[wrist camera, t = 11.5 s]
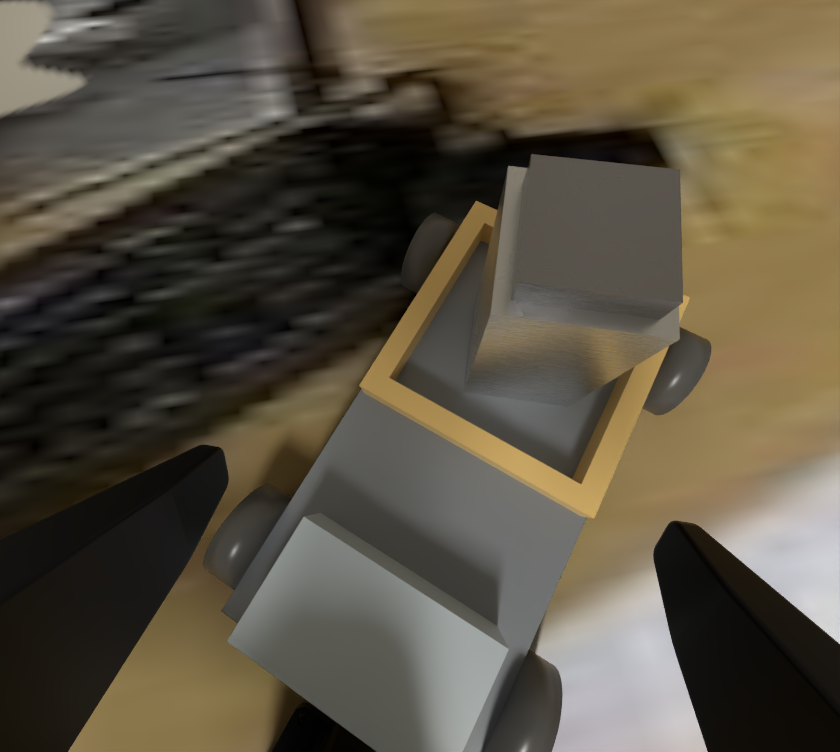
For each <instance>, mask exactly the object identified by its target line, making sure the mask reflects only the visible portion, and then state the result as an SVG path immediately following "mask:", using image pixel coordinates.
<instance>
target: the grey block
mask: <svg viewBox="0 0 840 752" xmlns="http://www.w3.org/2000/svg"><path fill="white" fill-rule="evenodd" d="M682 303H683V279H682V237H681V196H680V170H678V169H668V168H659V167H649V166H640V165H630V164H620V163H611V162H601V161H592V160H582V159H573V158H563V157H554V156H544V155H535V154H531V157H530V160H529V164H528V167H527V168H522V167H513V166H508V169H507V173H506V177H505V182H504V186H503V190H502V194H501V198H500V202H499V207H498V211H497V215H496V219H495V223H494V227H493V232H492V236H491V240H490V244H489V248H488V252H487V257H486V261H485V265H484V269H483V273H482V277H481V282H480V286H479V290H478V294H477V298H476V304H475V311H474V319H473V327H472V334H471V342H470V349H469V357H468V364H467V372H466V379H465V387H464V392H467V393H474V394H481V395H487V396H494V397H501V398H508V399H515V400H521V401H528V402H535V403H542V404H548V405H555V406H562V407H568V406H570V405H571V404H573V403H575V402H576V401H578V400H580V399H581V398H583V397H585V396H586V395H588V394H590V393H591V392H593V391H595V390H596V389H598V388H600V387H601V386H603V385H605V384H606V383H608V382H610V381H611V380H613V379H615V378H616V377H618V376H620V375H621V374H623V373H625V372H626V371H628V370H630V369H631V368H633V367H635V366H636V365H638V364H640V363H641V362H643V361H645V360H646V359H648V358H650V357H651V356H653V355H655V354H656V353H658V352H660V351H661V350H663V349H665V348H666V347H668V346H670V345H671V344H673V343H675V342H676V341H678V340H680V328H679V305H681V304H682Z"/></svg>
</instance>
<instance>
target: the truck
mask: <svg viewBox="0 0 840 752" xmlns="http://www.w3.org/2000/svg"><path fill="white" fill-rule="evenodd" d="M497 211H498V210H496V209H493V208H491V207H489V206H487V205H485V204H482V203H480V202H478V201H476V202H475V203H474V205H473V207H472V208H471V210H470V211H469V213H468V214H467V216H466V218H465V219H464V221H463V222H462V224H458V223H456V222H454V221H452V220H450V219H448V218H446V217H443V216H441V215H439V214H437V213H432V214H430V215H429V216H428V217H427V218H426V219H425V220H424V221H423V223H422V224H421V225H420V227H419V228H418V230H417V232H416V233H415V235H414V237H413V239H412V241H411V243H410V245H409V248H408V250H407V253H406V256H405V259H404V262H403V266H402V271H401V284H402V286H403V287H405V288H407V289H409V290H411V291H413V292H415V293H417V295H416V297H415V298H414V300H413V301H412V303H411V304H410V306H409V308H408V309H407V311H406V312H405V314H404V315H403V317H402V319H401V320H400V322H399V323H398V325H397V327H396V328H395V330H394V331H393V333H392V334H391V336H390V338H389V339H388V341H387V342H386V344H385V345H384V347H383V349H382V350H381V352H380V353H379V355H378V357H377V358H376V360H375V361H374V363H373V364H372V366H371V368H370V369H369V371H368V372H367V374H366V375H365V377H364V379H363V380H362V382H361V383H360V385H359V386H360V388H361V390H360V392H359V393H358V395H357V397H356V398H355V400H354V401H353V403H352V404H351V406H350V408H349V409H348V411H347V412H346V414H345V416H344V417H343V419H342V420H341V422H340V424H339V425H338V427H337V428H336V430H335V431H334V433H333V435H332V436H331V438H330V439H329V441H328V443H327V444H326V446H325V447H324V449H323V450H322V452H321V454H320V455H319V457H318V458H317V460H316V462H315V463H314V465H313V466H312V468H311V469H310V471H309V473H308V474H307V476H306V477H305V479H304V481H303V482H302V484H301V485H300V487H299V489H298V490H297V492H296V493H295V495H294V496H293V498H292V497H290V496H289V495H287V494H285V493H284V492H282V491H281V490H279V489H278V488H276V487H275V486H273V485H271V484H266V485H263V486H261V487H259V488H257V489H256V490H254V491H253V492H252V493H250V494H249V495H248V496H247V497H246V498H245V499H244V500H243V501H242V502H241V503H240V504H239V505H238V506H237V507H236V508H235V509H234V510H233V511H232V512H231V514H230V515H229V516H228V517H227V518H226V520H225V521H224V522H223V524H222V525H221V527H220V528H219V529H218V531H217V533H216V534H215V536H214V537H213V539H212V541H211V543H210V545H209V547H208V549H207V551H206V554H205V557H204V562H203V566H204V568H205V570H207V571H208V572H210V573H211V574H212V575H214V576H215V577H217V578H218V579H220V580H221V581H222V582H224V583H225V584H227V585H228V586H229V587H231V588H232V589H234V592H233V593H232V595H231V596H230V598H229V600H228V601H227V603H226V604H225V606H224V607H223V609H222V612H223V613H224V614H226V615H227V616H229V617H230V618H231V619H233V620H234V621H235V622H237V623H238V624H237V626H236V627H235V629H234V631H233V632H232V634H231V636H230V637H229V639H228V640H227V642H228V643H230V644H231V645H232V646H234V647H235V648H236V649H238V650H239V651H241V652H242V653H243V654H245V655H246V656H247V657H249V658H250V659H251V660H253V661H254V662H255V663H257V664H258V665H260V666H261V667H262V668H264V669H265V670H266V671H268V672H269V673H270V674H272V675H273V676H274V677H276V678H277V679H279V680H280V681H281V682H283V683H284V684H285V685H287V686H288V687H289V688H291V689H292V690H294V691H295V692H296V693H298V694H299V695H300V696H302V697H303V698H304V699H306V700H307V701H308V702H310V703H311V704H313V705H314V706H315V707H317V708H318V709H319V710H321V711H322V712H323V713H325V714H326V715H327V716H329V717H330V718H332V719H333V720H334V721H336V722H337V723H338V724H340V725H341V726H342V727H344V728H345V729H347V730H348V731H349V732H351V733H352V734H353V735H355V736H356V737H357V738H359V739H360V740H361V741H363V742H364V743H366V744H367V745H368V746H370V747H371V748H372V749H374V750H375V751H376V752H552V749H553V746H554V743H555V739H556V736H557V732H558V727H559V722H560V716H561V708H562V684H561V678H560V675H559V672H558V670H557V668H556V667H555V666H554V665H552V664H551V663H549V662H547V661H546V660H544V659H543V658H541V657H540V656H538V655H537V654H535V653H533V652H532V651H530V650H529V648H530V646H531V643H532V641H533V639H534V637H535V634H536V632H537V630H538V627H539V625H540V623H541V621H542V618H543V616H544V614H545V612H546V609H547V607H548V605H549V602H550V600H551V598H552V596H553V593H554V591H555V589H556V586H557V584H558V582H559V580H560V577H561V575H562V573H563V571H564V568H565V566H566V564H567V561H568V559H569V557H570V555H571V552H572V550H573V548H574V546H575V543H576V541H577V539H578V536H579V534H580V532H581V530H582V527H583V525H584V523H585V520H586V518H592V519H594V518H595V516H596V513H597V511H598V509H599V506H600V504H601V502H602V500H603V497H604V495H605V493H606V490H607V488H608V486H609V483H610V481H611V479H612V477H613V474H614V472H615V470H616V467H617V465H618V463H619V460H620V458H621V456H622V453H623V451H624V449H625V447H626V444H627V442H628V440H629V437H630V435H631V433H632V430H633V428H634V426H635V424H636V421H637V419H638V417H639V414H640V412H641V410H642V408H643V409H645V410H647V411H649V412H651V413H653V414H655V415H662V414H665V413H667V412H669V411H671V410H672V409H674V408H675V407H676V406H678V405H679V404H680V403H681V402H682V401H683V400H684V399H685V398H686V397H687V396H688V395H689V393H690V392H691V391H692V390H693V388H694V387H695V386H696V384H697V383H698V381H699V380H700V378H701V376H702V375H703V373H704V371H705V369H706V367H707V364H708V362H709V359H710V355H711V344H710V342H709V341H708V340H707V339H705V338H702V337H700V336H698V335H696V334H694V333H692V332H690V331H687V330H685V329H683V328H681V327H679V328H680V340H678V341H676V342H675V343H673V344H671V345H670V346H668V347H666V348H665V349H663V350H661V351H660V352H658V353H656V354H655V355H653V356H651V357H650V358H648V359H646V360H645V361H643V362H641V363H640V364H638V365H636V366H635V367H633V368H631V369H630V370H628V371H626V372H625V373H623V374H621V375H620V376H618V377H616V378H615V379H613V380H611V381H610V382H608V383H606V384H605V385H603V386H601V387H600V388H598V389H596V390H595V391H593V392H591V393H590V394H588V395H586V396H585V397H583V398H581V399H580V400H578V401H576V402H575V403H573V404H571V405H570V406H568V407H562V406H555V405H548V404H542V403H535V402H528V401H521V400H515V399H508V398H501V397H494V396H487V395H481V394H474V393H467V392H464V387H465V379H466V372H467V364H468V357H469V349H470V342H471V334H472V327H473V319H474V311H475V304H476V298H477V294H478V290H479V286H480V282H481V277H482V273H483V269H484V265H485V261H486V257H487V252H488V248H489V244H490V240H491V236H492V232H493V227H494V223H495V219H496V215H497ZM689 299H690V297H688V296H685V295H683V303H682V304H681V305H679V322H680V320H681V318H682V315H683V313H684V311H685V308H686V306H687V304H688V302H689Z"/></svg>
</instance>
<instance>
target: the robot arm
mask: <svg viewBox="0 0 840 752" xmlns="http://www.w3.org/2000/svg"><path fill="white" fill-rule="evenodd" d="M228 479H229V477H228V471H227V466H226V461H225V456H224V452H223V450H222V449H221V448H219V447H215V446H209V445H199V446H197V447H195V448H193V449H190V450H188V451H186V452H184V453H182V454H180V455H178V456H176V457H174V458H171V459H169V460H167V461H165V462H163V463H161V464H159V465H157V466H155V467H153V468H150V469H148V470H146V471H144V472H142V473H140V474H138V475H136V476H134V477H131V478H129V479H127V480H125V481H123V482H121V483H119V484H117V485H115V486H113V487H110V488H108V489H106V490H104V491H102V492H100V493H98V494H96V495H94V496H92V497H89V498H87V499H85V500H83V501H81V502H79V503H77V504H75V505H73V506H70V507H68V508H66V509H64V510H62V511H60V512H58V513H56V514H54V515H51V516H49V517H47V518H45V519H43V520H41V521H39V522H37V523H35V524H32V525H30V526H28V527H26V528H24V529H22V530H20V531H18V532H16V533H14V534H11V535H9V536H7V537H5V538H3V539H1V540H0V752H68V751H69V749H70V747H71V746H72V744H73V743H74V741H75V739H76V738H77V736H78V735H79V733H80V732H81V730H82V728H83V727H84V725H85V724H86V722H87V721H88V719H89V717H90V716H91V714H92V713H93V711H94V710H95V708H96V706H97V705H98V703H99V702H100V700H101V699H102V697H103V695H104V694H105V692H106V691H107V689H108V688H109V686H110V684H111V683H112V681H113V680H114V678H115V677H116V675H117V673H118V672H119V670H120V669H121V667H122V666H123V664H124V662H125V661H126V659H127V658H128V656H129V655H130V653H131V651H132V650H133V648H134V647H135V645H136V643H137V642H138V640H139V639H140V637H141V636H142V634H143V632H144V631H145V629H146V628H147V626H148V625H149V623H150V621H151V620H152V618H153V617H154V615H155V614H156V612H157V610H158V609H159V607H160V606H161V604H162V603H163V601H164V599H165V598H166V596H167V595H168V593H169V592H170V590H171V588H172V587H173V585H174V584H175V582H176V581H177V579H178V577H179V576H180V574H181V573H182V571H183V570H184V568H185V566H186V565H187V563H188V561H189V560H190V558H191V556H192V555H193V553H194V551H195V549H196V547H197V545H198V543H199V541H200V539H201V537H202V535H203V533H204V532H205V530H206V528H207V526H208V524H209V522H210V520H211V518H212V516H213V514H214V512H215V510H216V508H217V506H218V504H219V502H220V500H221V498H222V496H223V494H224V492H225V490H226V488H227V485H228ZM653 557H654V564H655V568H656V573H657V577H658V582H659V586H660V591H661V595H662V600H663V604H664V609H665V613H666V618H667V622H668V627H669V631H670V635H671V639H672V643H673V646H674V649H675V653H676V656H677V659H678V662H679V665H680V668H681V671H682V674H683V677H684V681H685V684H686V687H687V690H688V693H689V696H690V699H691V702H692V705H693V708H694V711H695V714H696V717H697V720H698V723H699V726H700V729H701V732H702V735H703V739H704V742H705V745H706V748H707V751H708V752H840V644H839V643H838V642H837V641H835V640H834V639H833V638H832V637H831V636H829V635H828V634H827V633H826V632H825V631H823V630H822V629H821V628H820V627H819V626H818V625H816V624H815V623H814V622H813V621H812V620H810V619H809V618H808V617H807V616H806V615H804V614H803V613H802V612H801V611H800V610H798V609H797V608H796V607H795V606H794V605H792V604H791V603H790V602H789V601H788V600H786V599H785V598H784V597H783V596H782V595H781V594H779V593H778V592H777V591H776V590H775V589H773V588H772V587H771V586H770V585H769V584H767V583H766V582H765V581H764V580H763V579H761V578H760V577H759V576H758V575H757V574H755V573H754V572H753V571H752V570H751V569H750V568H748V567H747V566H746V565H745V564H744V563H742V562H741V561H740V560H739V559H738V558H736V557H735V556H734V555H733V554H732V553H730V552H729V551H728V550H727V549H726V548H724V547H723V546H722V545H721V544H720V543H719V542H717V541H716V540H715V539H714V538H713V537H711V536H710V535H709V534H708V533H707V532H705V531H704V530H703V529H702V528H701V527H699V526H698V525H696V524H693V523H688V522H681V521H672V522H670V523H669V524H668V525H667V527H666V529H665V531H664V532H663V534H662V536H661V537H660V539H659V541H658V543H657V544H656V546H655V548H654V554H653ZM302 713H303V714H306V716H307V718H308V721H306V722H303V721H301V720H300V717H299V715H300V714H302ZM272 752H376V751H375V750H374V749H372V748H371V747H370V746H368V745H367V744H366V743H364V742H363V741H361V740H360V739H359V738H357V737H356V736H355V735H353V734H352V733H351V732H349V731H348V730H347V729H345V728H344V727H342V726H341V725H340V724H338V723H336V722H334V721H333V720H332V719H330V718H329V717H328V716H326V715H325V714H323V713H322V712H321V711H319V710H318V709H317V708H315V707H314V706H313V705H311V704H309V703H302V704H300V705H299V706H298V707H297V708H296V710H295V711H294V713H293V715H292V716H291V718H290V720H289V722H288V724H287V725H286V727H285V729H284V731H283V733H282V734H281V736H280V738H279V740H278V742H277V744H276V745H275V747H274V749H273V751H272Z"/></svg>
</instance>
